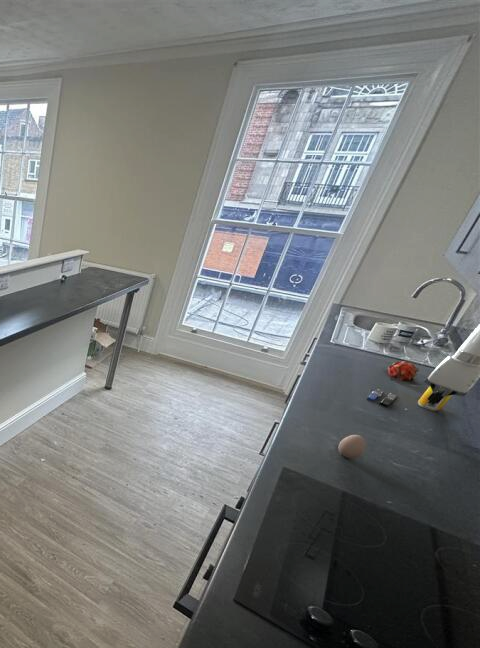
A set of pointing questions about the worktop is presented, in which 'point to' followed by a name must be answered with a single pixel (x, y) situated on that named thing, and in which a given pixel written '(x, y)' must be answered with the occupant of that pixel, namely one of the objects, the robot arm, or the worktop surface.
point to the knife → (388, 400)
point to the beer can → (431, 402)
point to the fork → (375, 395)
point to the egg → (352, 446)
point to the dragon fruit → (403, 371)
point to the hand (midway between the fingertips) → (431, 402)
